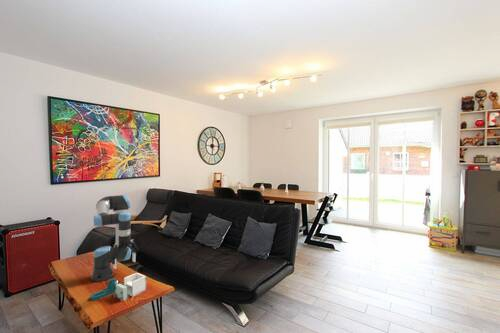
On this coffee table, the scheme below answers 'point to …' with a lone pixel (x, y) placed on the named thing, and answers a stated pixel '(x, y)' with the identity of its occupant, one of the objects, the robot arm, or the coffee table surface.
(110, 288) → the bracket
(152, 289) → the coffee table surface
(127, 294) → the small parts
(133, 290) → the cabinet
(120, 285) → the door
